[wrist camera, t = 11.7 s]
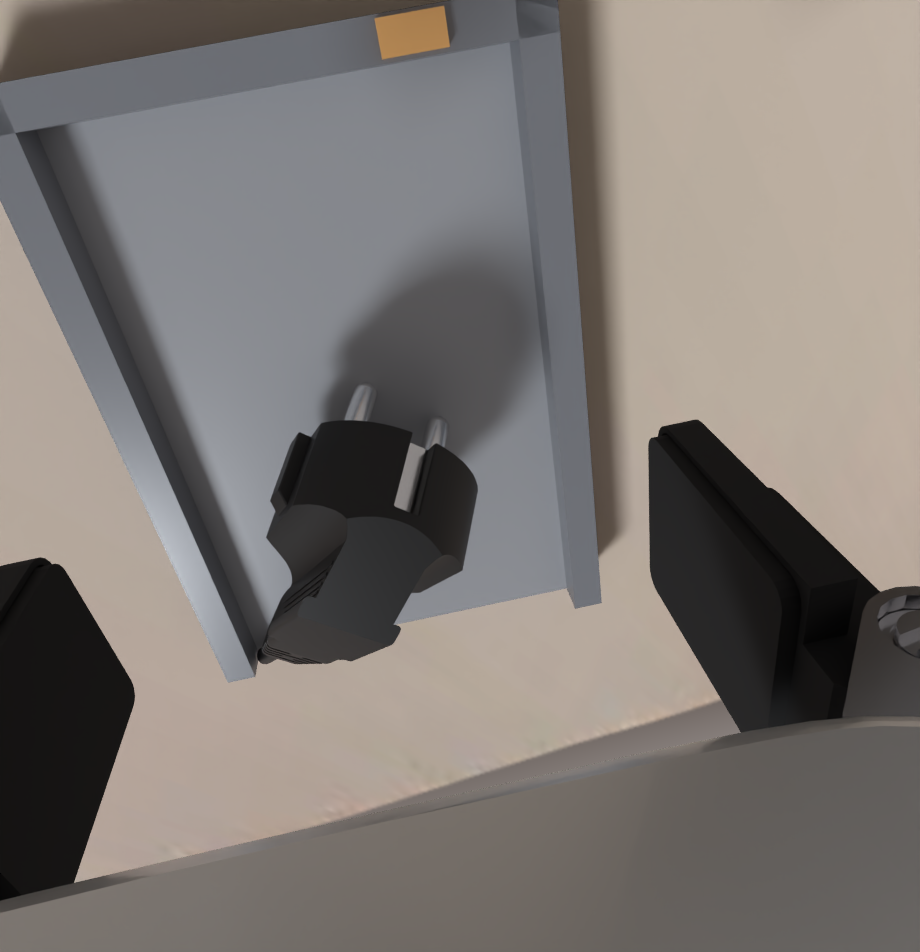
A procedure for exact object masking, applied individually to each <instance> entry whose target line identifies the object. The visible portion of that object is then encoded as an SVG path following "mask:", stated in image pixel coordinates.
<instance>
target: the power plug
mask: <svg viewBox="0 0 920 952" xmlns="http://www.w3.org/2000/svg"><path fill="white" fill-rule="evenodd" d="M377 395H378V393H377V390H376V388H375V386H374V385H372V384H371V383H367V382H361V383H359V384H357V385H356V386H355V388H354V389H353V392H352V395H351V398H350V402H349V405H348V408H347V411H346V414H345V417H344V420H338V421H329V422H324V423H321V424H320V425H319V427H318V428H317V429H316V431H315V432H314V433H313V435H312V436H311V437H310V436H308V435H305V434H303V433H301V432H299V433H298V434H297V435H296V437H295V438H294V440H293V441H292V443H291V444H290V447H289V450H288V452H287V455H286V458H285V461H284V463H283V466H282V469H281V472H280V474H279V477H278V480H277V483H276V485H275V488H274V491H273V494H272V496H271V499H270V502H271V504H272V506H273V507H274V509H275V513H274V516H273V519H272V522H271V525H270V527H269V530H268V533H267V536H266V538H267V540H268V541H269V542H270V543H271V545H272V546H273V547H274V548H275V549H276V550H277V552H278V553H279V554H280V555H281V557H282V558H283V559H284V560H285V562H286V563H287V565H288V567H289V569H290V571H291V575H292V584H291V587H290V588H289V589H288V590H287V591H286V592H285V593H284V595H283V596H282V598H281V600H280V602H279V605H278V607H277V609H276V611H275V613H274V616H273V618H272V620H271V622H270V625H269V627H268V630H267V633H266V636H265V639H264V642H263V645H262V647H261V648H260V649H259V650H258V652H257V659H258V661H259V662H260V663H262V664H268V663H271V662H272V661H274V660H276V659H280V660H283V661H287V662H290V663H293V664H322V663H324V664H328V663H331V662H334V661H336V660H338V659H339V660H348V661H353V660H356V659H358V658H361V657H363V656H366V655H368V654H370V653H373V652H375V651H378V650H380V649H383V648H385V647H387V646H390V645H392V644H393V643H394V642H395V640H396V638H397V636H398V635H399V633H400V630H401V628H400V627H399V626H397V625H394V623H395V621H396V619H397V618H398V616H399V614H400V612H401V611H402V609H403V607H404V605H405V604H406V602H407V600H408V598H409V596H410V595H411V593H421V592H423V591H424V590H426V589H428V588H430V587H432V586H434V585H436V584H438V583H440V582H442V581H444V580H445V579H447V578H449V577H451V576H453V575H455V574H457V573H459V572H461V571H463V566H464V561H465V555H466V550H467V545H468V540H469V535H470V530H471V524H472V519H473V514H474V509H475V504H476V499H477V493H478V485H477V482H476V479H475V477H474V475H473V473H472V472H471V470H470V469H469V468H468V467H467V465H466V464H465V463H464V462H463V461H462V460H460V459H459V458H458V457H457V456H456V455H454V454H453V453H452V452H450V451H449V450H447V449H446V448H445V445H446V441H447V437H448V432H449V423H448V421H447V420H446V419H445V418H443V417H441V416H433V417H431V418H430V419H428V421H427V423H426V426H425V430H424V434H423V438H422V442H421V446H420V447H419V446H417V445H415V444H413V443H410V442H411V438H412V434H413V433H412V432H410V431H407V430H404V429H401V428H398V427H394V426H390V425H386V424H381V423H375V422H370V420H371V417H372V413H373V410H374V407H375V403H376V400H377Z"/></svg>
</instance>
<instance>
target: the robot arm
mask: <svg viewBox="0 0 920 952" xmlns="http://www.w3.org/2000/svg"><path fill="white" fill-rule="evenodd" d="M648 451H649V529H650V572H651V577H652V581H653V584H654V586H655V588H656V590H657V592H658V594H659V595H660V597H661V599H662V601H663V602H664V604H665V606H666V607H667V609H668V611H669V612H670V614H671V616H672V617H673V619H674V621H675V622H676V624H677V626H678V627H679V629H680V631H681V632H682V634H683V636H684V637H685V639H686V641H687V643H688V644H689V646H690V648H691V649H692V651H693V653H694V654H695V656H696V658H697V659H698V661H699V663H700V664H701V666H702V668H703V669H704V671H705V673H706V674H707V676H708V678H709V679H710V681H711V683H712V685H713V686H714V688H715V690H716V691H717V693H718V695H719V696H720V698H721V700H722V701H723V703H724V705H725V706H726V708H727V710H728V711H729V713H730V715H731V716H732V718H733V720H734V721H735V723H736V725H737V726H738V728H739V730H740V732H741V733H738V734H733V735H728V736H723V737H719V738H713V739H709V740H704V741H699V742H694V743H689V744H684V745H679V746H675V747H670V748H665V749H660V750H655V751H651V752H646V753H641V754H636V755H631V756H627V757H623V758H618V759H614V760H609V761H604V762H600V763H596V764H591V765H586V766H582V767H577V768H573V769H568V770H564V771H560V772H555V773H551V774H546V775H542V776H537V777H533V778H529V779H524V780H520V781H515V782H511V783H506V784H501V785H497V786H492V787H488V788H483V789H479V790H475V791H470V792H466V793H461V794H457V795H452V796H448V797H444V798H439V799H435V800H430V801H426V802H421V803H418V804H413V805H408V806H404V807H400V808H395V809H391V810H386V811H382V812H378V813H374V814H369V815H365V816H360V817H356V818H351V819H347V820H343V821H338V822H334V823H330V824H325V825H321V826H317V827H312V828H308V829H304V830H299V831H295V832H290V833H286V834H282V835H277V836H273V837H269V838H264V839H260V840H256V841H251V842H247V843H243V844H238V845H234V846H230V847H225V848H221V849H217V850H212V851H208V852H204V853H200V854H195V855H191V856H187V857H183V858H178V859H174V860H170V861H166V862H161V863H157V864H153V865H149V866H144V867H140V868H136V869H132V870H127V871H123V872H119V873H115V874H110V875H106V876H102V877H98V878H93V879H89V880H85V881H81V882H76V883H74V881H75V878H76V875H77V872H78V869H79V866H80V863H81V860H82V857H83V854H84V851H85V848H86V845H87V842H88V839H89V836H90V833H91V830H92V827H93V824H94V821H95V818H96V815H97V812H98V809H99V806H100V804H101V801H102V798H103V795H104V792H105V789H106V786H107V783H108V780H109V777H110V774H111V771H112V768H113V765H114V762H115V759H116V756H117V753H118V750H119V747H120V744H121V741H122V738H123V735H124V732H125V729H126V726H127V723H128V721H129V718H130V715H131V712H132V709H133V705H134V701H135V693H134V687H133V684H132V681H131V679H130V678H129V676H128V674H127V673H126V671H125V669H124V668H123V666H122V664H121V663H120V661H119V659H118V658H117V656H116V654H115V653H114V651H113V649H112V648H111V646H110V644H109V643H108V641H107V639H106V638H105V636H104V634H103V633H102V631H101V629H100V628H99V626H98V624H97V623H96V621H95V619H94V618H93V616H92V614H91V613H90V611H89V609H88V608H87V606H86V604H85V603H84V601H83V599H82V598H81V596H80V594H79V593H78V591H77V589H76V588H75V586H74V584H73V583H72V581H71V579H70V578H69V576H68V574H67V573H66V571H65V570H64V568H63V567H62V566H60V565H58V564H51V563H50V562H49V561H48V560H46V559H45V558H35V559H31V560H26V561H21V562H16V563H12V564H7V565H3V566H0V952H920V587H918V586H910V587H895V588H892V589H888V590H885V591H882V592H880V591H879V590H878V589H877V588H876V587H874V586H873V585H872V584H871V583H870V582H869V581H868V580H867V579H866V578H865V577H864V576H863V575H862V574H861V573H860V572H859V571H858V570H857V569H856V568H855V567H854V566H853V565H852V564H851V563H850V562H849V561H848V560H847V559H846V558H845V557H844V556H843V555H842V554H841V553H840V552H839V551H838V550H837V549H836V548H835V547H834V546H833V545H832V544H831V543H829V542H828V541H827V540H826V539H825V538H824V537H823V536H822V535H821V534H820V533H819V532H818V531H817V530H816V529H815V528H814V527H813V526H812V525H811V524H810V523H809V522H808V521H807V520H806V519H805V518H804V517H803V516H802V515H801V514H800V513H799V512H798V511H797V510H796V509H795V508H794V507H793V506H792V505H791V504H790V503H789V502H788V501H787V500H785V499H784V498H783V497H782V496H781V495H780V494H779V493H778V492H777V491H775V490H774V489H772V488H767V487H766V486H765V485H764V484H763V483H762V482H761V481H760V480H759V479H758V478H757V477H756V476H755V475H754V474H753V473H752V472H751V471H750V470H749V469H748V468H747V467H746V466H745V465H744V464H743V463H742V462H741V461H740V460H739V459H738V458H737V457H736V456H735V455H734V454H733V453H732V452H731V451H730V450H729V449H728V448H727V447H726V446H725V445H724V444H723V443H722V442H721V441H720V440H719V439H718V438H717V437H716V436H715V435H714V434H713V433H712V432H711V431H710V430H709V429H708V428H707V427H706V426H705V425H704V424H703V423H702V422H700V421H699V420H691V421H687V422H682V423H677V424H672V425H668V426H663V427H661V428H660V430H659V434H658V437H654V438H651V439H650V441H649V448H648Z"/></svg>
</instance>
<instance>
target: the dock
mask: <svg viewBox="0 0 920 952" xmlns="http://www.w3.org/2000/svg"><path fill="white" fill-rule="evenodd" d="M0 201H1V203H2V205H3V207H4V209H5V212H6V214H7V216H8V218H9V220H10V222H11V224H12V226H13V228H14V231H15V233H16V235H17V237H18V239H19V241H20V243H21V245H22V247H23V250H24V252H25V254H26V256H27V258H28V260H29V262H30V264H31V267H32V269H33V271H34V273H35V275H36V277H37V279H38V281H39V283H40V286H41V288H42V290H43V292H44V294H45V296H46V298H47V300H48V303H49V305H50V307H51V309H52V311H53V313H54V315H55V317H56V319H57V322H58V324H59V326H60V328H61V330H62V332H63V334H64V336H65V339H66V341H67V343H68V345H69V347H70V349H71V351H72V353H73V355H74V358H75V360H76V362H77V364H78V366H79V368H80V370H81V372H82V374H83V377H84V379H85V381H86V383H87V385H88V387H89V389H90V391H91V394H92V396H93V398H94V400H95V402H96V404H97V406H98V408H99V410H100V413H101V415H102V417H103V419H104V421H105V423H106V425H107V427H108V430H109V432H110V434H111V436H112V438H113V440H114V442H115V444H116V446H117V449H118V451H119V453H120V455H121V457H122V459H123V461H124V463H125V465H126V468H127V470H128V472H129V474H130V476H131V478H132V480H133V482H134V485H135V487H136V489H137V491H138V493H139V495H140V497H141V499H142V501H143V504H144V506H145V508H146V510H147V512H148V514H149V516H150V518H151V521H152V523H153V525H154V527H155V529H156V531H157V533H158V535H159V537H160V540H161V542H162V544H163V546H164V548H165V550H166V552H167V554H168V557H169V559H170V561H171V563H172V565H173V567H174V569H175V571H176V573H177V576H178V578H179V580H180V582H181V584H182V586H183V588H184V590H185V592H186V595H187V597H188V599H189V601H190V603H191V605H192V607H193V609H194V612H195V614H196V616H197V618H198V620H199V622H200V624H201V626H202V628H203V631H204V633H205V635H206V637H207V639H208V641H209V643H210V645H211V648H212V650H213V652H214V654H215V656H216V658H217V660H218V662H219V664H220V667H221V669H222V671H223V673H224V675H225V677H226V679H227V681H228V682H233V681H238V680H243V679H247V678H252V677H255V675H256V669H257V664H258V659H257V652H258V650H259V649H260V648H261V647H262V645H263V642H264V639H265V636H266V633H267V630H268V627H269V625H270V622H271V620H272V618H273V616H274V613H275V611H276V609H277V607H278V605H279V602H280V600H281V598H282V596H283V595H284V593H285V592H286V591H287V590H288V589H289V588H290V587H291V584H292V575H291V571H290V569H289V567H288V565H287V563H286V562H285V560H284V559H283V558H282V557H281V555H280V554H279V553H278V552H277V550H276V549H275V548H274V547H273V546H272V545H271V543H270V542H269V541H268V540H267V538H266V536H267V533H268V530H269V527H270V525H271V522H272V519H273V516H274V513H275V509H274V507H273V506H272V504H271V502H270V499H271V496H272V494H273V491H274V488H275V485H276V483H277V480H278V477H279V474H280V472H281V469H282V466H283V463H284V461H285V458H286V455H287V452H288V450H289V447H290V444H291V443H292V441H293V440H294V438H295V437H296V435H297V434H298V433H299V432H301V433H303V434H305V435H308V436H310V437H311V436H312V435H313V433H314V432H315V431H316V429H317V428H318V427H319V425H320V424H321V423H324V422H329V421H338V420H344V417H345V414H346V411H347V408H348V405H349V402H350V398H351V395H352V392H353V389H354V388H355V386H356V385H357V384H359V383H361V382H367V383H371V384H372V385H374V386H375V388H376V390H377V393H378V395H377V400H376V403H375V407H374V410H373V413H372V417H371V420H370V422H375V423H381V424H386V425H390V426H394V427H398V428H401V429H404V430H407V431H410V432H412V433H413V434H412V438H411V442H410V443H413V444H415V445H417V446H419V447H420V446H421V442H422V438H423V434H424V430H425V426H426V423H427V421H428V419H430V418H431V417H433V416H441V417H443V418H445V419H446V420H447V421H448V423H449V432H448V437H447V441H446V445H445V448H446V449H447V450H449V451H450V452H452V453H453V454H454V455H456V456H457V457H458V458H459V459H460V460H462V461H463V462H464V463H465V464H466V465H467V467H468V468H469V469H470V470H471V472H472V473H473V475H474V477H475V479H476V482H477V485H478V493H477V499H476V504H475V509H474V514H473V519H472V524H471V530H470V535H469V540H468V545H467V550H466V555H465V561H464V566H463V571H461V572H459V573H457V574H455V575H453V576H451V577H449V578H447V579H445V580H444V581H442V582H440V583H438V584H436V585H434V586H432V587H430V588H428V589H426V590H424V591H423V592H421V593H411V595H410V596H409V598H408V600H407V602H406V604H405V605H404V607H403V609H402V611H401V612H400V614H399V616H398V618H397V619H396V621H395V623H394V625H396V624H400V623H405V622H410V621H415V620H419V619H424V618H429V617H433V616H438V615H443V614H448V613H452V612H457V611H462V610H466V609H471V608H476V607H481V606H485V605H490V604H495V603H499V602H504V601H509V600H514V599H518V598H523V597H528V596H532V595H537V594H542V593H547V592H551V591H556V590H561V589H565V588H567V590H568V592H569V595H570V597H571V600H572V602H573V604H574V607H575V609H576V608H580V607H585V606H590V605H594V604H599V603H602V602H601V589H600V575H599V561H598V547H597V533H596V520H595V506H594V492H593V478H592V464H591V451H590V437H589V423H588V409H587V396H586V382H585V368H584V354H583V340H582V327H581V313H580V299H579V285H578V271H577V258H576V244H575V230H574V216H573V202H572V189H571V175H570V161H569V147H568V133H567V120H566V106H565V92H564V78H563V64H562V51H561V37H560V23H559V9H558V0H449V1H443V2H438V3H432V4H427V5H421V6H416V7H411V8H405V9H400V10H394V11H389V12H383V13H378V14H372V15H367V16H362V17H356V18H351V19H345V20H340V21H334V22H329V23H323V24H318V25H313V26H307V27H302V28H296V29H291V30H285V31H280V32H274V33H269V34H263V35H258V36H253V37H247V38H242V39H236V40H231V41H225V42H220V43H214V44H209V45H204V46H198V47H193V48H187V49H182V50H176V51H171V52H165V53H160V54H155V55H149V56H144V57H138V58H133V59H127V60H122V61H116V62H111V63H106V64H100V65H95V66H89V67H84V68H78V69H73V70H67V71H62V72H57V73H51V74H46V75H40V76H35V77H29V78H24V79H18V80H13V81H7V82H2V83H0Z"/></svg>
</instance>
